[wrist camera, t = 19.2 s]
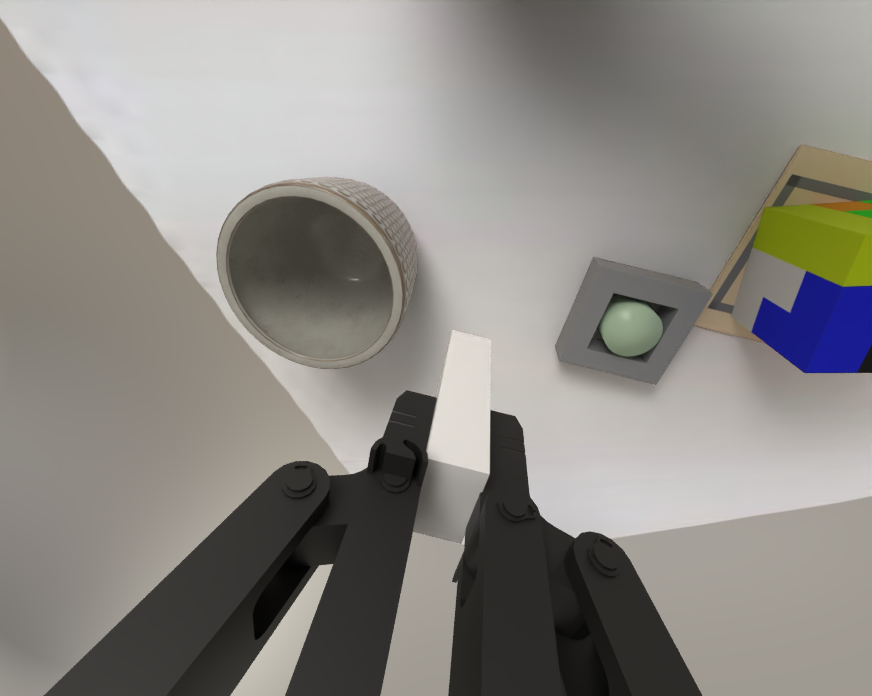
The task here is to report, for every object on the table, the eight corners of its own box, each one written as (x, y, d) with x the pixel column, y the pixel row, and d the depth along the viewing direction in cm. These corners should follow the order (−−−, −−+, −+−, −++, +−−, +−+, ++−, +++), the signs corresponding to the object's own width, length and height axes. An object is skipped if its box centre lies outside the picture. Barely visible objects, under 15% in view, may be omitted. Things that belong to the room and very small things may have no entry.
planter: (408, 324, 42) (378, 394, 31) (287, 280, 41) (211, 335, 30) (451, 198, 35) (431, 228, 24) (307, 142, 34) (216, 146, 23)
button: (608, 288, 37) (618, 302, 34) (658, 300, 37) (673, 315, 34) (587, 332, 39) (595, 349, 36) (634, 344, 39) (646, 361, 36)
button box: (593, 257, 36) (601, 266, 33) (697, 282, 36) (713, 294, 33) (555, 346, 41) (559, 360, 38) (645, 368, 41) (656, 384, 38)
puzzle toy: (730, 316, 37) (804, 373, 28) (764, 207, 32) (866, 234, 23) (851, 313, 35) (968, 372, 26) (905, 198, 30) (1071, 223, 22)
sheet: (800, 144, 30) (803, 144, 29) (963, 184, 30) (968, 184, 29) (689, 323, 38) (691, 324, 37) (817, 355, 38) (820, 356, 37)
